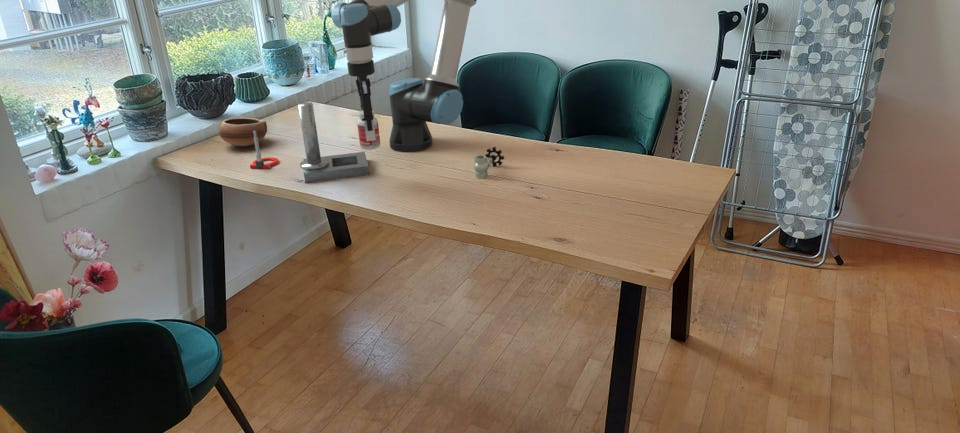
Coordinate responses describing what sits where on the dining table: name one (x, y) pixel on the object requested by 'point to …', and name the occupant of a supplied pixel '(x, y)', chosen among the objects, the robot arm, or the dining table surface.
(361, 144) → the pill bottle
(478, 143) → the dining table surface
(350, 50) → the robot arm
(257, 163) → the tow hook
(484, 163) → the valve
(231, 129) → the bowl
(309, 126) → the rosette post
